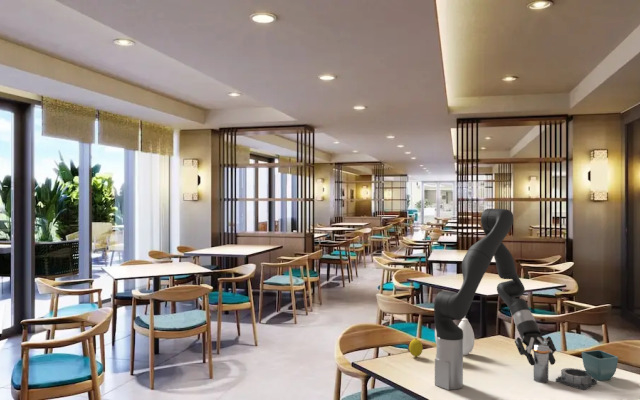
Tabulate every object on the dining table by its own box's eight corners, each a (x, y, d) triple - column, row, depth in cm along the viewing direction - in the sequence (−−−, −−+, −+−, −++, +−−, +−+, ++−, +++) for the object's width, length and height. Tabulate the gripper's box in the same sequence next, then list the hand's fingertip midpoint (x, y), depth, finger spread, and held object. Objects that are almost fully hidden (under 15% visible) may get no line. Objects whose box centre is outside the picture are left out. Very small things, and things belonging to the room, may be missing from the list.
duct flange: (584, 390, 170) (584, 379, 170) (555, 381, 178) (555, 371, 178) (596, 383, 177) (596, 373, 177) (568, 375, 185) (568, 366, 185)
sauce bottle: (477, 354, 209) (477, 313, 209) (467, 358, 204) (467, 315, 204) (461, 350, 215) (462, 309, 215) (451, 354, 210) (451, 312, 210)
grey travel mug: (544, 384, 176) (544, 348, 176) (529, 379, 180) (530, 344, 180) (552, 381, 179) (552, 345, 179) (537, 376, 184) (537, 342, 184)
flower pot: (599, 383, 177) (599, 358, 177) (580, 375, 186) (580, 351, 186) (618, 381, 180) (619, 357, 180) (599, 373, 188) (599, 349, 188)
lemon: (413, 354, 209) (413, 335, 209) (424, 357, 206) (424, 338, 206) (406, 357, 205) (406, 338, 205) (418, 360, 201) (418, 341, 201)
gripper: (512, 319, 186) (529, 360, 175) (547, 318, 188) (566, 358, 177) (505, 329, 191) (521, 369, 180) (539, 328, 193) (557, 368, 182)
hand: (543, 364), depth 178 cm, fingers open, 7 cm apart
